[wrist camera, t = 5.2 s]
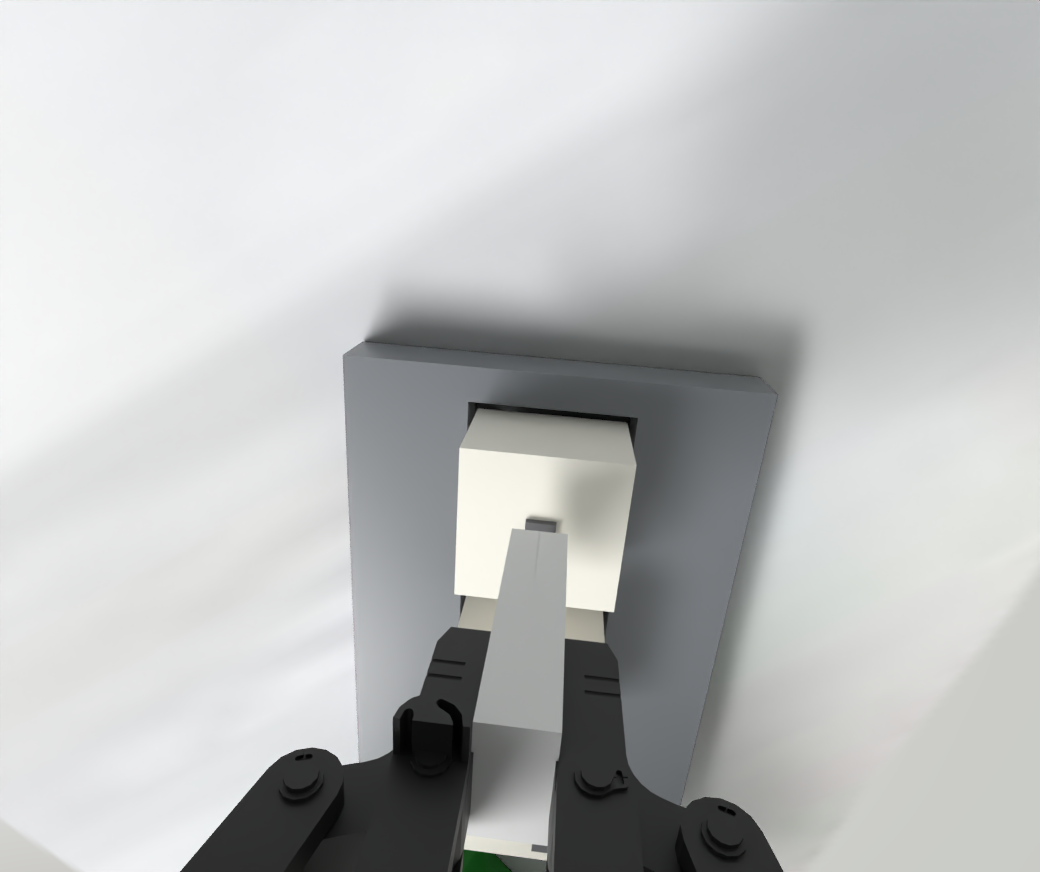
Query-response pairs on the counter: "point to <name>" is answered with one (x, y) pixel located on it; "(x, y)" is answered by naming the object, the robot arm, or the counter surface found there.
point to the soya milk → (482, 862)
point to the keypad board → (648, 543)
